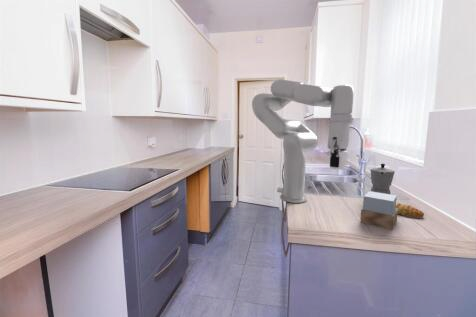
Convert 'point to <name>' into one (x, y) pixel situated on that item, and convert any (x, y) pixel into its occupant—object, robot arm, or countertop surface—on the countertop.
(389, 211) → the grey top block
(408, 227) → the countertop surface
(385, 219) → the walnut base block
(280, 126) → the robot arm
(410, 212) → the pastry
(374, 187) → the coffeepot
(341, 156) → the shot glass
